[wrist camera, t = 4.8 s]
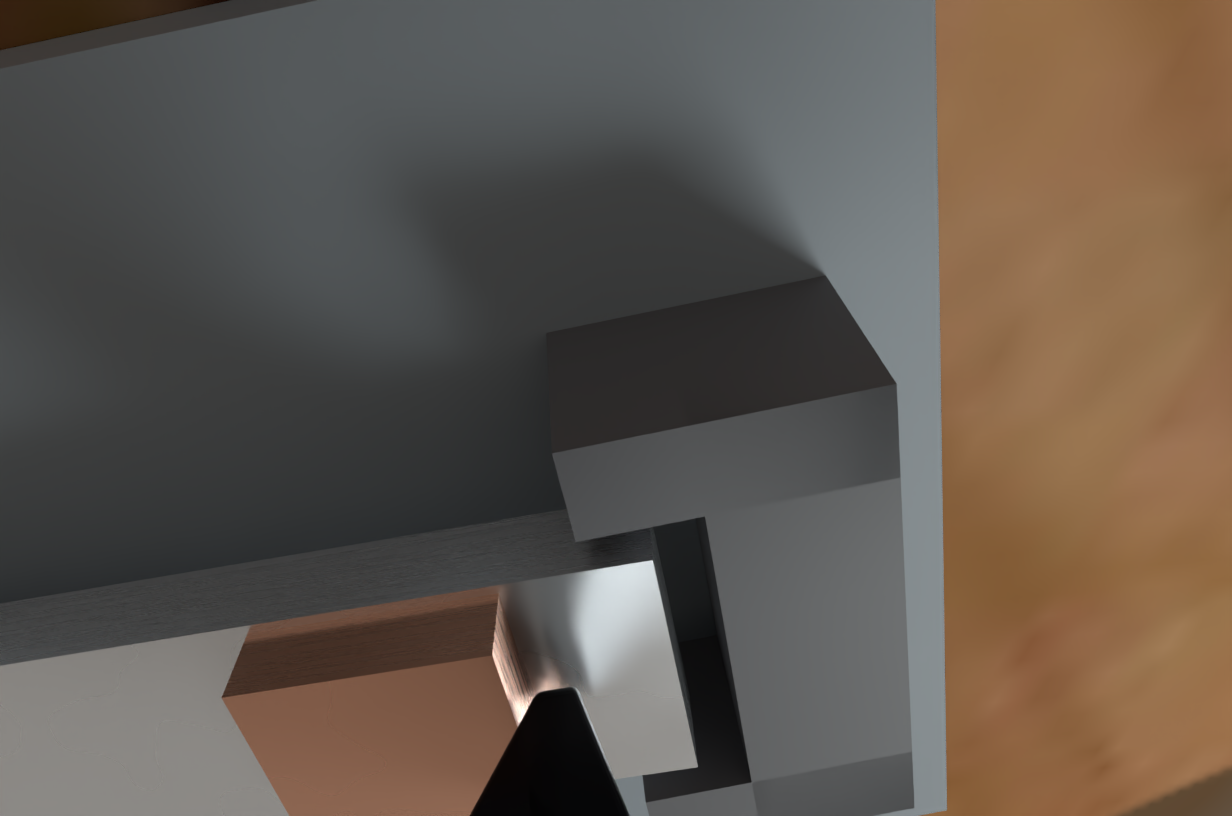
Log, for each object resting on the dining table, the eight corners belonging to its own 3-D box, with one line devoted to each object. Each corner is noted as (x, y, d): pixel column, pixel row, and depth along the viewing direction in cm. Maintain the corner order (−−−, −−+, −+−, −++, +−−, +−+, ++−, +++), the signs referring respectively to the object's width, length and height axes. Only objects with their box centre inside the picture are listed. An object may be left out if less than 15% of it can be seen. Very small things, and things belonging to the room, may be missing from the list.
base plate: (-230, 952, 17) (-425, 1247, 14) (-1019, 270, 10) (-1815, 508, 7) (913, 732, 17) (1019, 980, 13) (879, -141, 10) (1080, -114, 6)
